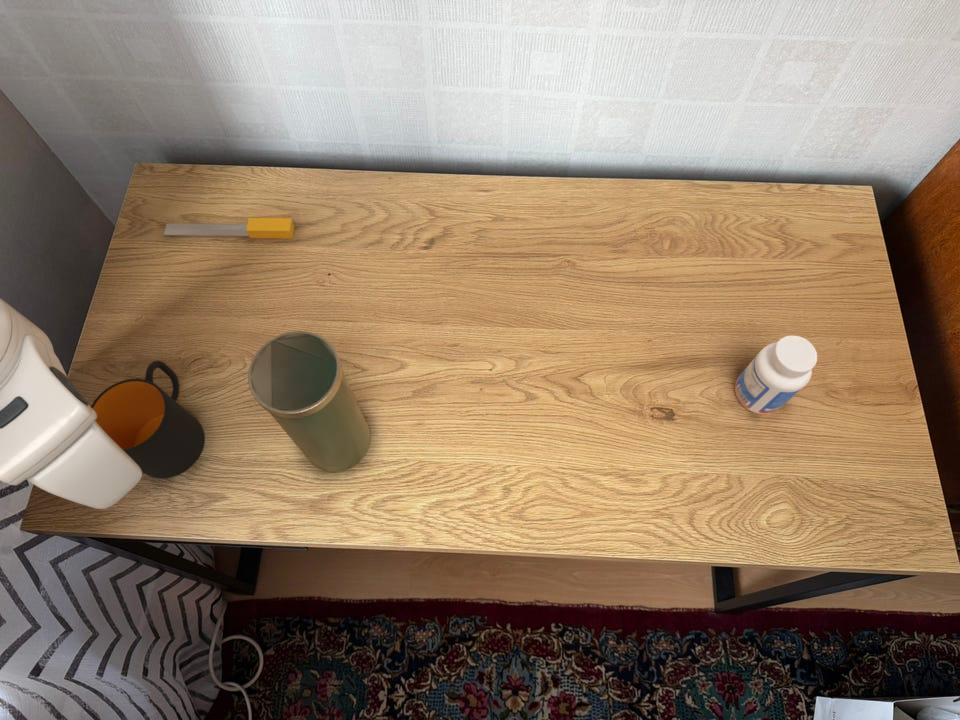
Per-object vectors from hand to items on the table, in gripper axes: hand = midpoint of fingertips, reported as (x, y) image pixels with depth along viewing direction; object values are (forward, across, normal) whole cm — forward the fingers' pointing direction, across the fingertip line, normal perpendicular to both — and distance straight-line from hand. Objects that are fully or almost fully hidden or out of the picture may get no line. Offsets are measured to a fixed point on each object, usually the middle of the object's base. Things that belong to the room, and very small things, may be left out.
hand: (86, 434), depth 54 cm
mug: (+21, -7, +4) cm, 23 cm away
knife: (+21, -25, +28) cm, 43 cm away
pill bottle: (+21, +44, +54) cm, 73 cm away
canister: (+21, +9, +16) cm, 28 cm away
